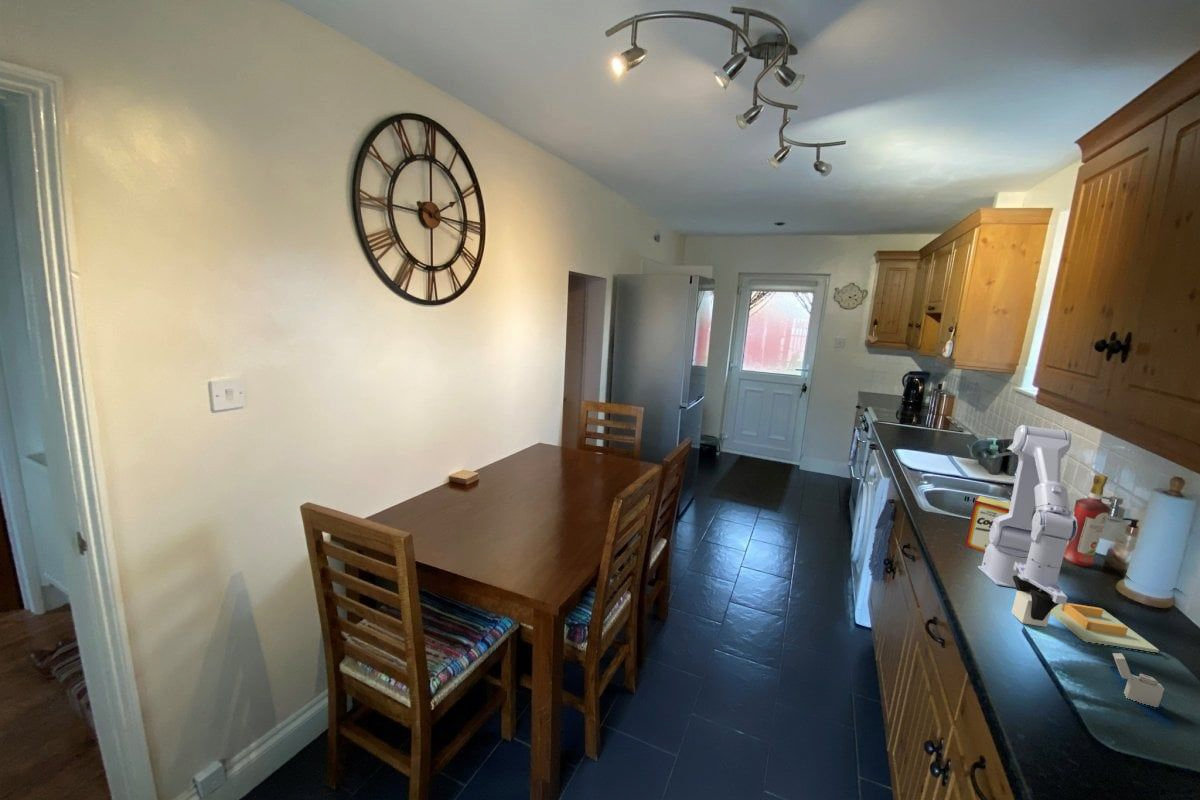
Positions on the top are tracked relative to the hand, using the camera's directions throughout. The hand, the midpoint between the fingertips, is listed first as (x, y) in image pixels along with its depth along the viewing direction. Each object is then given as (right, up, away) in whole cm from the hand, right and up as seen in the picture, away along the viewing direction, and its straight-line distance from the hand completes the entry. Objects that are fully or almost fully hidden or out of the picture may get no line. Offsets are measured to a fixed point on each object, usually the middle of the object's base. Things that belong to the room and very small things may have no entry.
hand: (1030, 613), depth 112 cm
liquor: (+43, +1, +31) cm, 53 cm away
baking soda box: (+19, +4, +36) cm, 41 cm away
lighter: (-1, -7, -22) cm, 22 cm away
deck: (+15, -3, 0) cm, 15 cm away
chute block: (0, -2, 0) cm, 2 cm away
